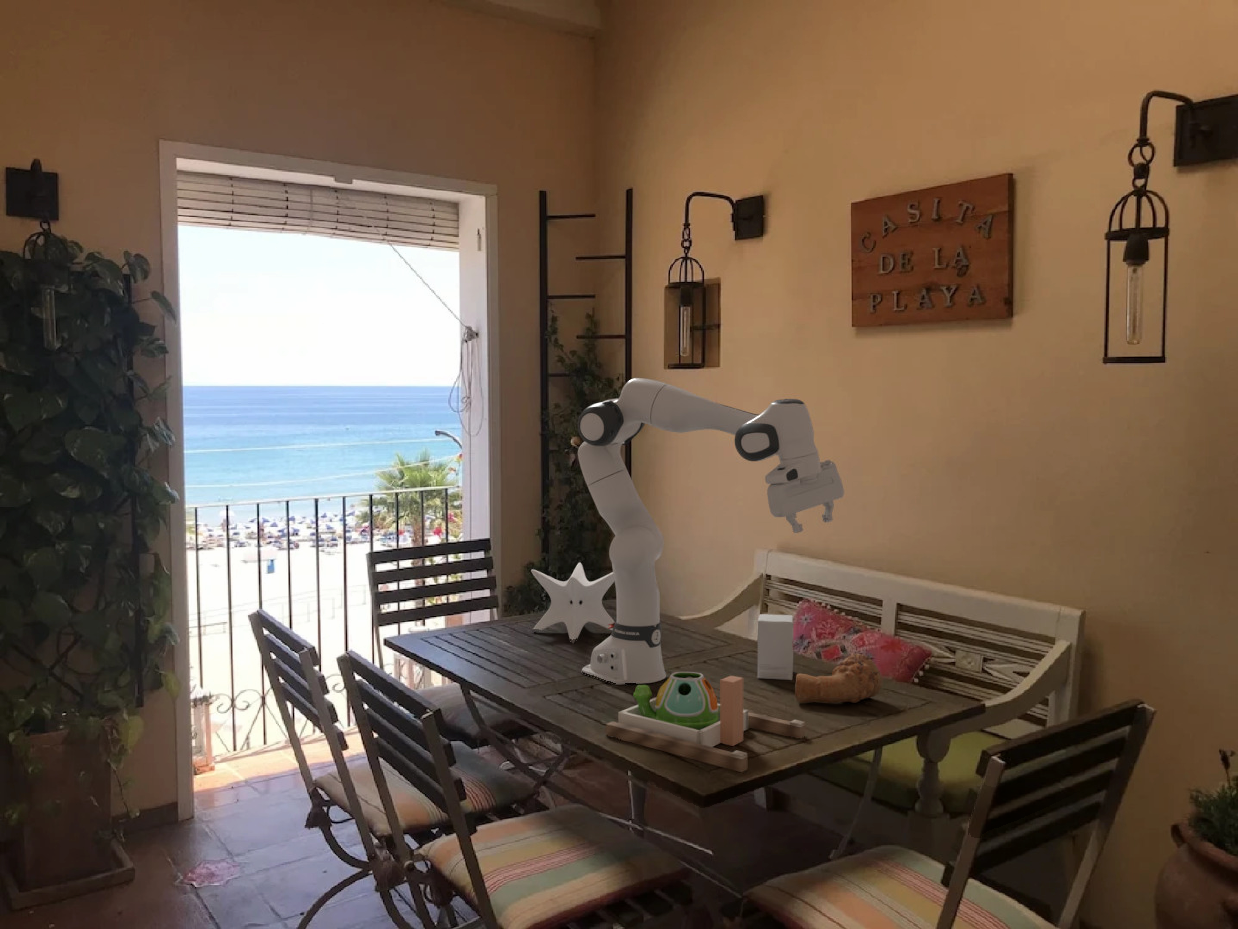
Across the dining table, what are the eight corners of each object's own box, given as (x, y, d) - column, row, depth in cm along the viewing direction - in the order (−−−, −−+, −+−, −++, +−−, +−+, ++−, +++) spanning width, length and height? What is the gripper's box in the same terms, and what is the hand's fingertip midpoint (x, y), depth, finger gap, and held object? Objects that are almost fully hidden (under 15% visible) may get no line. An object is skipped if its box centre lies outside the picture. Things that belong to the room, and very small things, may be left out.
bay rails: (606, 735, 195) (606, 721, 195) (675, 706, 215) (675, 693, 215) (741, 772, 175) (741, 756, 174) (804, 736, 194) (804, 721, 194)
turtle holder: (638, 718, 207) (638, 665, 206) (720, 722, 204) (720, 668, 203) (629, 737, 194) (629, 680, 194) (716, 742, 191) (716, 684, 191)
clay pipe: (877, 728, 210) (884, 690, 223) (877, 687, 207) (884, 652, 220) (794, 716, 217) (805, 681, 230) (792, 677, 213) (804, 643, 226)
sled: (618, 730, 198) (618, 670, 197) (668, 709, 212) (668, 653, 211) (713, 756, 183) (713, 690, 182) (760, 731, 197) (760, 670, 196)
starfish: (531, 633, 290) (530, 569, 289) (580, 623, 303) (579, 562, 302) (572, 644, 275) (572, 577, 274) (622, 633, 288) (621, 569, 287)
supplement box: (792, 680, 235) (793, 622, 235) (757, 679, 237) (757, 620, 236) (793, 671, 244) (793, 614, 244) (758, 669, 246) (758, 613, 245)
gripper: (824, 459, 221) (836, 515, 222) (759, 478, 210) (771, 538, 211) (843, 457, 215) (855, 515, 216) (777, 477, 205) (790, 538, 206)
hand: (813, 526), depth 214 cm, fingers open, 8 cm apart
